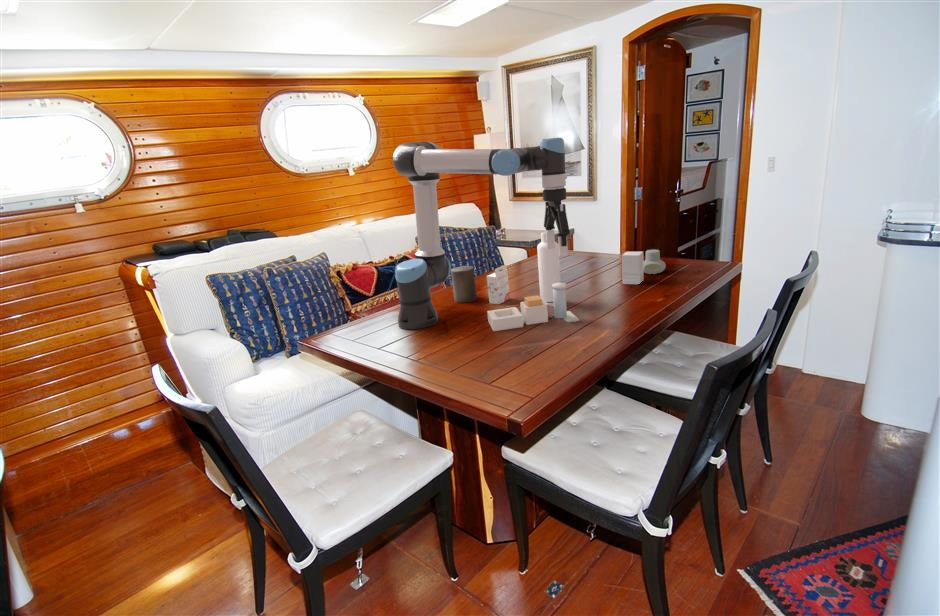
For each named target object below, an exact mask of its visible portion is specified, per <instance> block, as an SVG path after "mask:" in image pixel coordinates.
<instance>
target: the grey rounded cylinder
mask: <svg viewBox="0 0 940 616" xmlns="http://www.w3.org/2000/svg"><path fill="white" fill-rule="evenodd" d="M552 288H553V302H552V303H554V307H553V315H554V316H553V317H554V318H555V319H563V320H564V319H565V318H567V311H568V310H567V284H566V282H561V283H554V284H552Z"/></svg>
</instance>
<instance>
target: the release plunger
mask: <svg viewBox="0 0 940 616" xmlns="http://www.w3.org/2000/svg"><path fill="white" fill-rule="evenodd" d="M523 298H524V301H525V305H526V306H527V307H531V306H538V305H542V298H540V295H531V296H525V297H523Z"/></svg>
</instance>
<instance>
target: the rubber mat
mask: <svg viewBox="0 0 940 616" xmlns="http://www.w3.org/2000/svg"><path fill="white" fill-rule="evenodd" d="M563 320H564V321H565V322H566V323H576V322H580V319H579V318H578V316H577V315H575V314H574V313H572V311H570V310H567V318H565V319H563Z"/></svg>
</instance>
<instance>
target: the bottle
mask: <svg viewBox="0 0 940 616" xmlns="http://www.w3.org/2000/svg"><path fill="white" fill-rule="evenodd" d="M540 240H541V241H540V242H539V243H538V244H537V245H536V247H537V249H536V251H537V267H538V281H539V282H538V284H539V297H540V298H542V301H543V302H545V303H546V304H547V306H549V307H550V308H554V302H553V288H552V284H554V283H562V282H561V262H560V256H559V242H557V241H555V248H552V249H547V238H546V231H542V232H540Z"/></svg>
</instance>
